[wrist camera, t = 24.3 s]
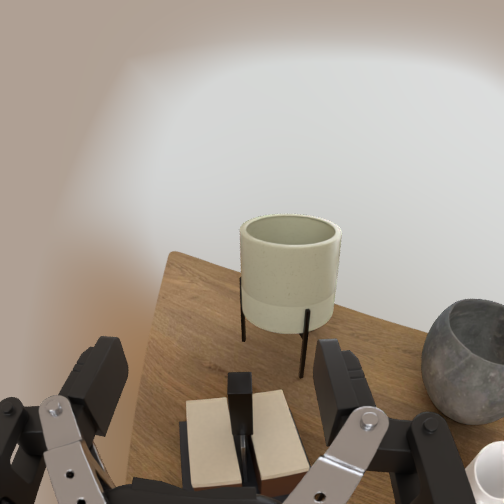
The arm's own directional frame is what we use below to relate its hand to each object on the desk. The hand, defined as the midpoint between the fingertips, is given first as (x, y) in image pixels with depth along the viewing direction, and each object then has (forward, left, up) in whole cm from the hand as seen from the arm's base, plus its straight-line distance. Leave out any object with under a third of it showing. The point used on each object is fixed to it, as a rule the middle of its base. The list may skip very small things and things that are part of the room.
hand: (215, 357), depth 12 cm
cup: (+25, -7, -30) cm, 40 cm away
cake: (+2, +11, -30) cm, 32 cm away
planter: (+13, +34, -30) cm, 47 cm away
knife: (+2, +11, -29) cm, 31 cm away
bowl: (+38, +11, -30) cm, 50 cm away
